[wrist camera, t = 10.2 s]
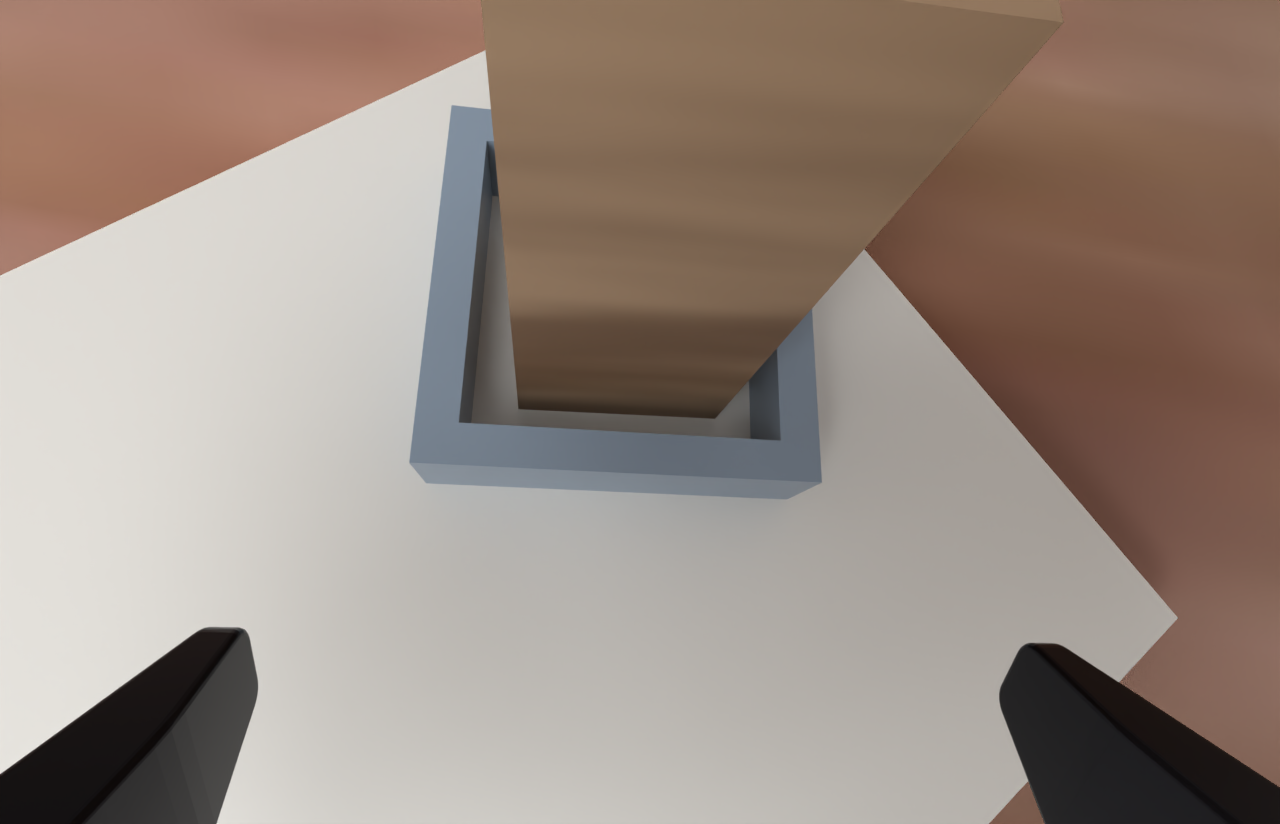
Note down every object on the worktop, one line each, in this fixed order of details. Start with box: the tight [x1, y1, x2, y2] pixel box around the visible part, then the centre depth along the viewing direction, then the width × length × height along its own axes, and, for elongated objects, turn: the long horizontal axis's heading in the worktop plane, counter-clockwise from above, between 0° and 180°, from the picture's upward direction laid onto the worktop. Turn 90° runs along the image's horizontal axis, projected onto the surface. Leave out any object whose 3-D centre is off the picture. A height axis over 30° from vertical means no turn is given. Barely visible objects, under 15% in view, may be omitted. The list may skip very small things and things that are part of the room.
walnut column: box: [481, 0, 1064, 419], centre depth 11 cm, size 4×4×11 cm
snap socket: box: [409, 105, 822, 499], centre depth 15 cm, size 8×8×2 cm
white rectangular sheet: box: [0, 50, 1178, 824], centre depth 14 cm, size 21×27×1 cm
